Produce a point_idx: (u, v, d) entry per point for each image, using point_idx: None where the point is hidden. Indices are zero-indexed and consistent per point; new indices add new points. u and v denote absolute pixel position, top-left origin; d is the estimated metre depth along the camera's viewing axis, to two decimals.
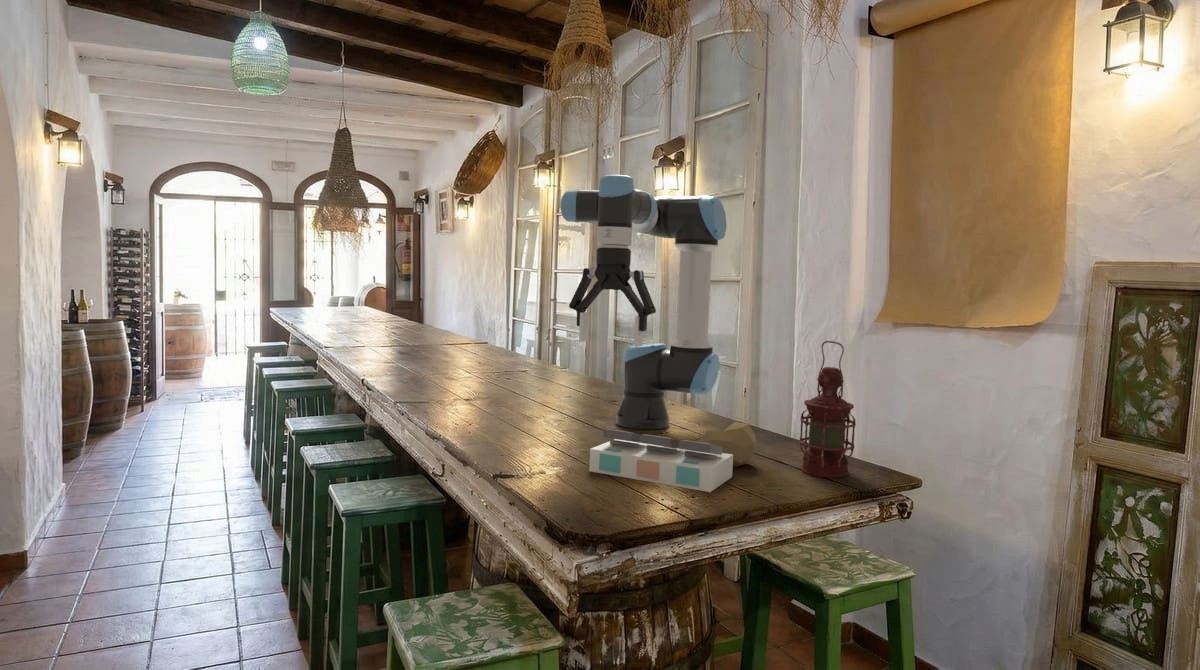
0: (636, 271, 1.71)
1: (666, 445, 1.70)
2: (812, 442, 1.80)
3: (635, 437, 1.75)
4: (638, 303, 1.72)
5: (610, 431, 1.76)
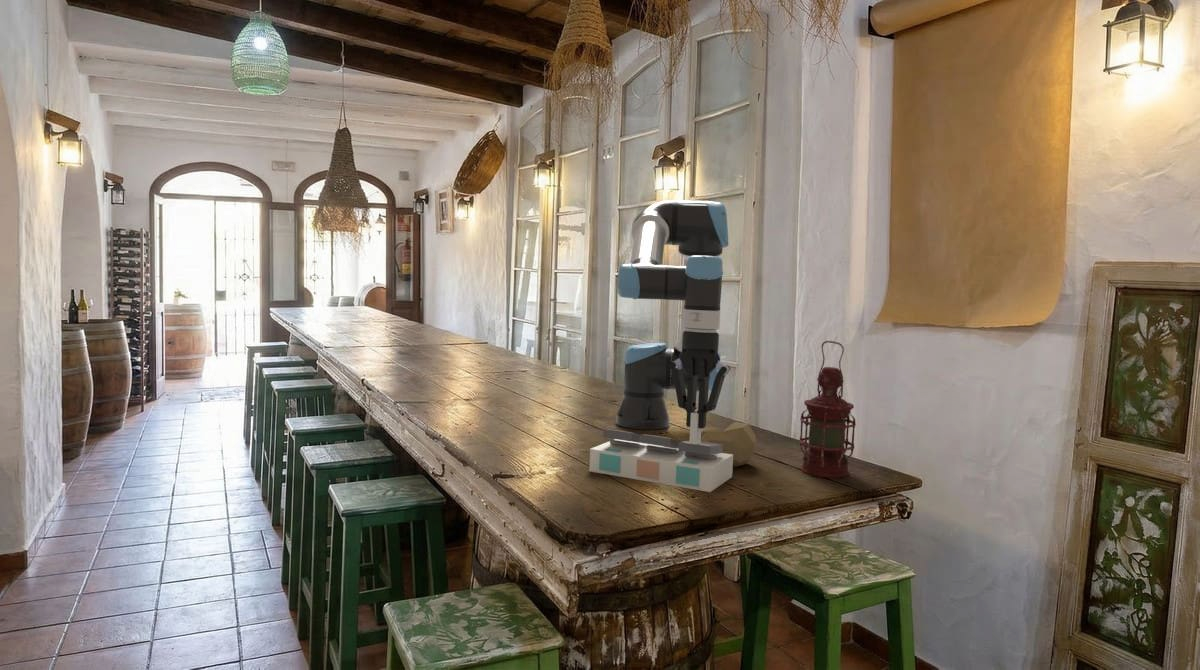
0: (724, 368, 1.62)
1: (666, 445, 1.70)
2: (812, 442, 1.80)
3: (635, 437, 1.75)
4: (705, 399, 1.65)
5: (610, 431, 1.76)
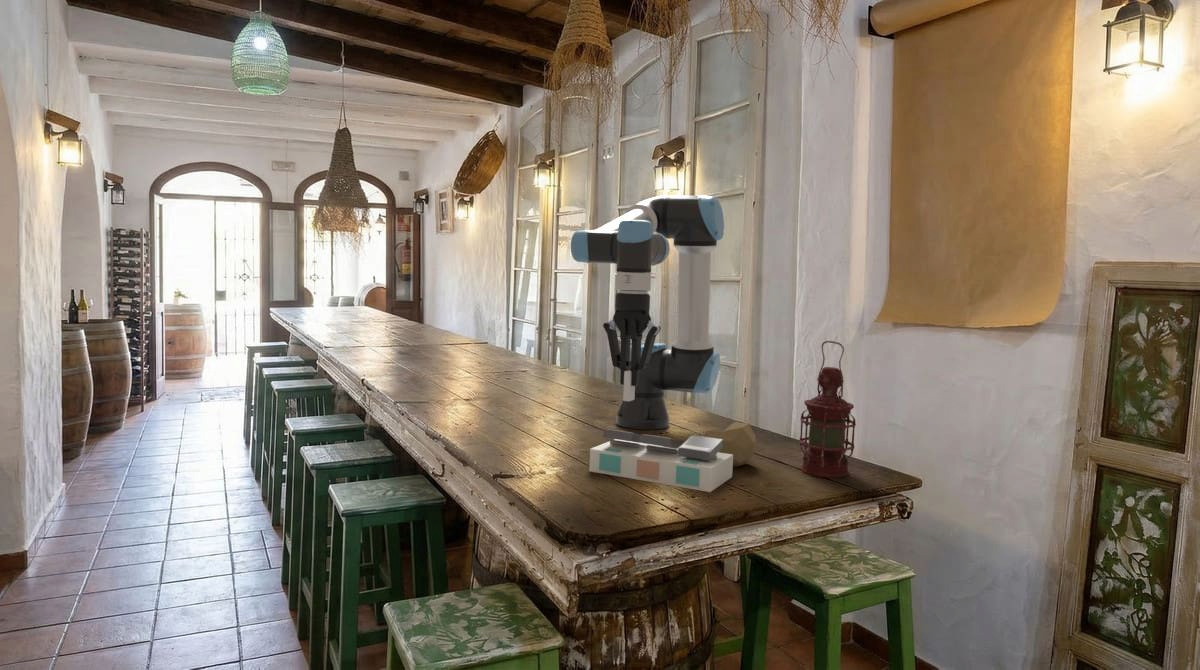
0: (654, 328, 1.70)
1: (666, 445, 1.70)
2: (812, 442, 1.80)
3: (635, 437, 1.75)
4: (637, 358, 1.73)
5: (610, 431, 1.76)
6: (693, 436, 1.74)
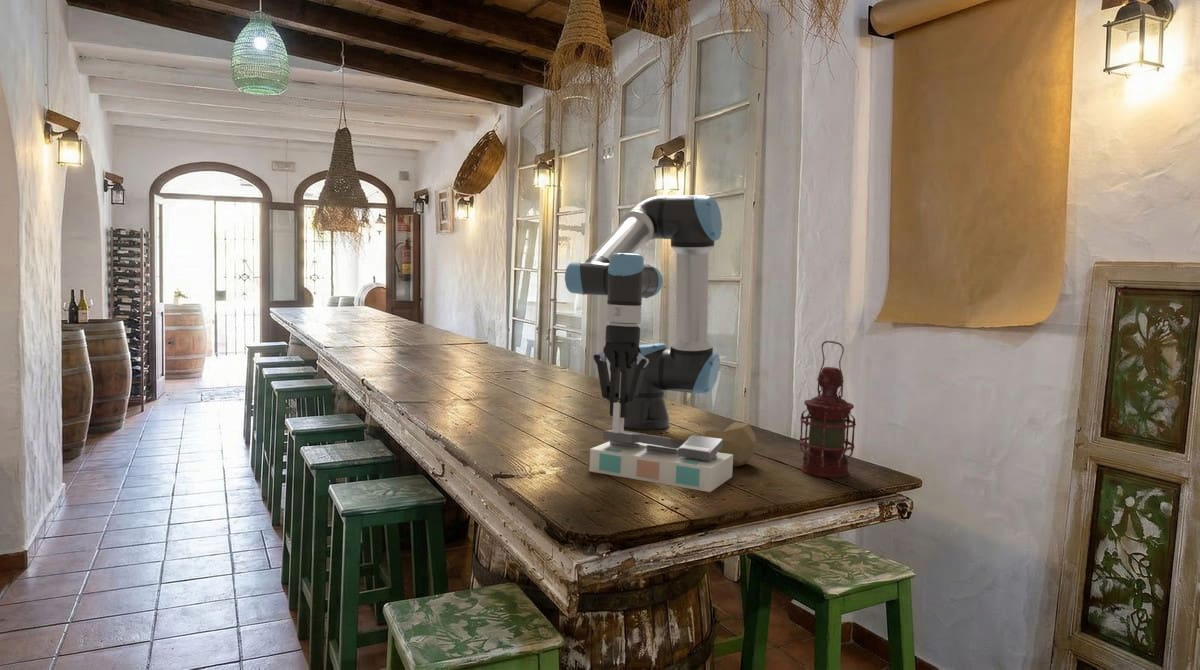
0: (644, 360, 1.71)
1: (666, 445, 1.70)
2: (812, 442, 1.80)
3: (635, 438, 1.75)
4: (626, 390, 1.73)
5: (610, 433, 1.76)
6: (693, 436, 1.74)
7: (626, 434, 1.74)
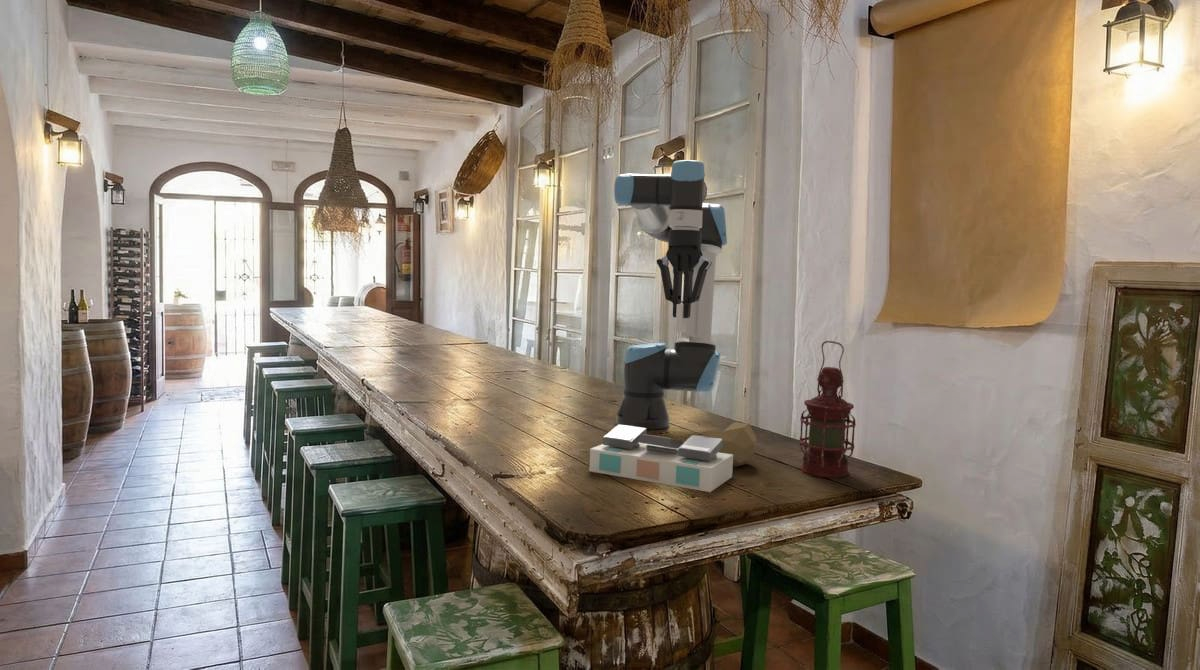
0: (706, 262, 1.80)
1: (666, 445, 1.70)
2: (813, 442, 1.80)
3: (635, 442, 1.75)
4: (689, 291, 1.83)
5: (609, 439, 1.76)
6: (693, 436, 1.74)
7: (625, 440, 1.74)
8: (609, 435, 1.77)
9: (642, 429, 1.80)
